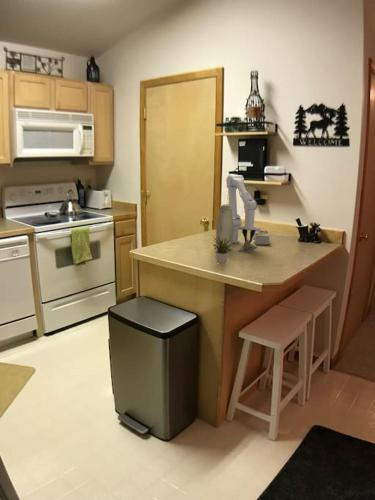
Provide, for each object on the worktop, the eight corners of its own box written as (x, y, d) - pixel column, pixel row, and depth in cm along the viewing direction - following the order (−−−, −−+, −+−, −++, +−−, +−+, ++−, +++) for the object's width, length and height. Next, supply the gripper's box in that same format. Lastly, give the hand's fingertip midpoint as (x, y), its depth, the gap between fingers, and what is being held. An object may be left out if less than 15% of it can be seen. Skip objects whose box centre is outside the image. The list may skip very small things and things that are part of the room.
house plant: (202, 264, 217) (203, 234, 213) (211, 258, 229) (212, 230, 225) (227, 268, 211) (228, 237, 207) (235, 261, 223) (236, 232, 219)
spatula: (249, 250, 246) (249, 244, 244) (241, 249, 248) (241, 243, 246) (254, 241, 258) (254, 236, 256) (246, 241, 259) (247, 235, 258)
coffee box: (269, 245, 263) (266, 239, 278) (269, 235, 261) (267, 230, 277) (254, 244, 264) (253, 239, 279) (255, 235, 262) (253, 230, 278)
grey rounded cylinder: (218, 247, 255) (219, 203, 248) (233, 248, 252) (236, 204, 245) (213, 250, 246) (215, 205, 239) (230, 252, 243) (232, 206, 236)
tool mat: (237, 251, 246) (237, 250, 246) (245, 244, 263) (245, 244, 263) (250, 252, 243) (250, 252, 243) (257, 246, 260) (257, 245, 260)
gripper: (236, 220, 247) (235, 241, 251) (259, 222, 242) (258, 244, 246) (239, 218, 254) (238, 239, 257) (262, 220, 249) (260, 241, 252)
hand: (248, 241), depth 252 cm, fingers closed on spatula, 2 cm apart
